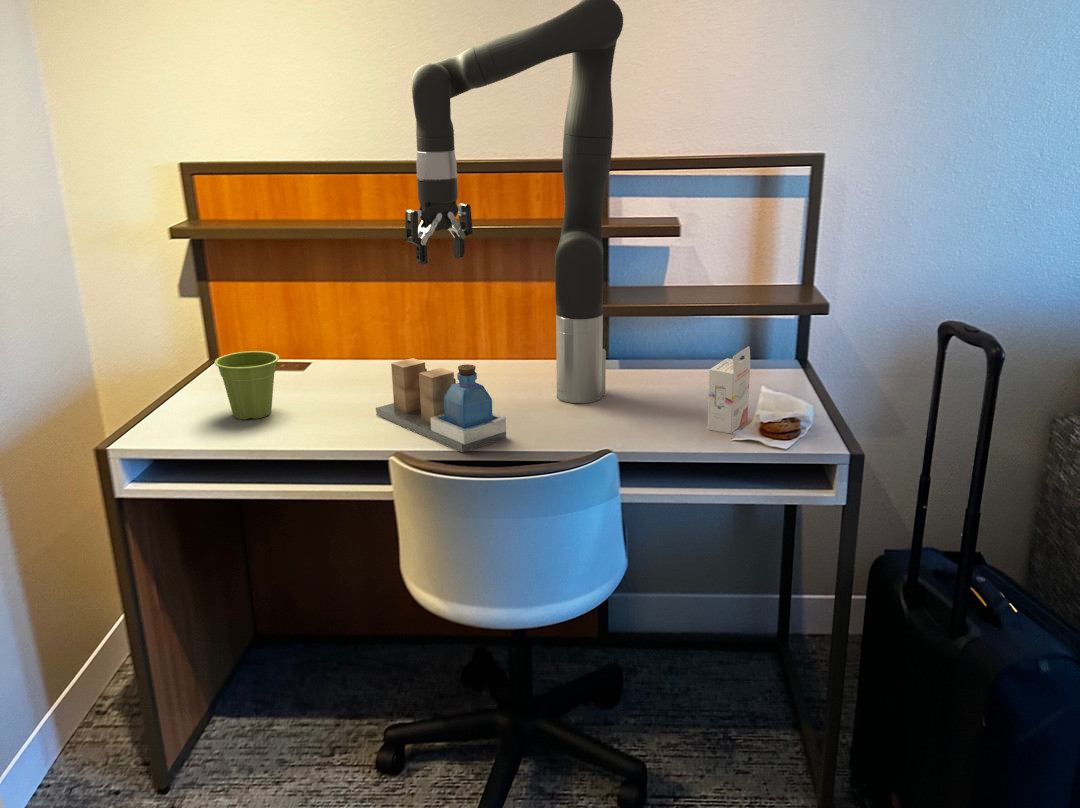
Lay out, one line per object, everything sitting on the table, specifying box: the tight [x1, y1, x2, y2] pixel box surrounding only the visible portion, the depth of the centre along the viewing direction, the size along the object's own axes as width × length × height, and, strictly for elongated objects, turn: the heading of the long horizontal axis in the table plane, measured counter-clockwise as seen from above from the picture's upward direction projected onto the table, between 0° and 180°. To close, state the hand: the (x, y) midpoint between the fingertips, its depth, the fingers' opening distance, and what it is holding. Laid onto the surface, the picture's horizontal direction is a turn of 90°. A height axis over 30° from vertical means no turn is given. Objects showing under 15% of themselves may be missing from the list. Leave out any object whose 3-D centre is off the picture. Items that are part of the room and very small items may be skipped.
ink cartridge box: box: [706, 345, 751, 434], centre depth 174 cm, size 9×5×15 cm, turn 148°
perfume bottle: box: [444, 364, 493, 429], centre depth 169 cm, size 6×6×12 cm
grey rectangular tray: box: [375, 402, 507, 454], centre depth 177 cm, size 10×27×4 cm, turn 42°
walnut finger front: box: [419, 367, 456, 423], centre depth 176 cm, size 6×4×9 cm
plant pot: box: [214, 350, 280, 420], centre depth 184 cm, size 12×12×11 cm
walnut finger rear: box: [390, 357, 428, 413], centre depth 182 cm, size 6×4×9 cm
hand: (440, 261), depth 184 cm, fingers open, 8 cm apart
